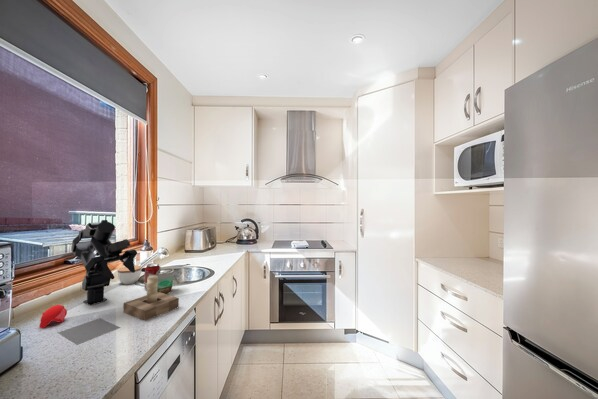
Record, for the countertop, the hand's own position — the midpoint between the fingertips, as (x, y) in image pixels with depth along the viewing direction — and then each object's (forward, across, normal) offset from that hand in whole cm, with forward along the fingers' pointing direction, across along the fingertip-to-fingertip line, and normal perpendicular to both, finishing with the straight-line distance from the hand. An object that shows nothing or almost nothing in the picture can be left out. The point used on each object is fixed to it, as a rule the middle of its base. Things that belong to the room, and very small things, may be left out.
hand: (124, 275), depth 102 cm
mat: (+14, -17, +6) cm, 23 cm away
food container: (+12, +18, +8) cm, 23 cm away
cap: (+1, -17, +18) cm, 25 cm away
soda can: (+5, +22, +15) cm, 27 cm away
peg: (+18, +2, +1) cm, 18 cm away
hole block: (+18, +2, +1) cm, 18 cm away
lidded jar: (-9, +26, +28) cm, 39 cm away
